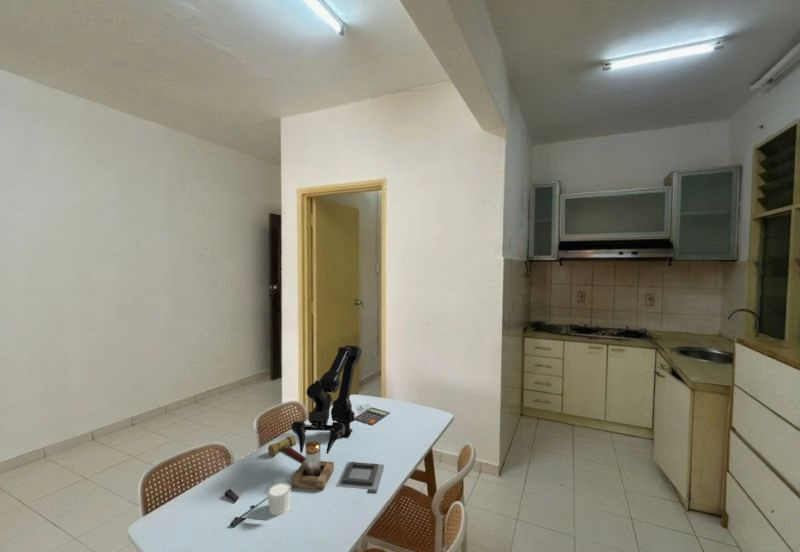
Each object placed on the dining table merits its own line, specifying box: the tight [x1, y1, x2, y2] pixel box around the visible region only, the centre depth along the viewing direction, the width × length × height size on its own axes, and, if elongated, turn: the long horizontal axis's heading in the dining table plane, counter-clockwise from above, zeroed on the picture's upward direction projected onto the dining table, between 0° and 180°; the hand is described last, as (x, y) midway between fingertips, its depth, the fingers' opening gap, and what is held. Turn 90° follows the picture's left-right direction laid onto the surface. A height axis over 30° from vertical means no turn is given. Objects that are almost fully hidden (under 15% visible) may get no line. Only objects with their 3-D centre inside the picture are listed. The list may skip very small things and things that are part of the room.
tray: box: [335, 461, 385, 493], centre depth 123 cm, size 14×14×2 cm
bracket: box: [224, 488, 268, 528], centre depth 110 cm, size 14×15×3 cm
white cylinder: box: [267, 482, 292, 516], centre depth 106 cm, size 7×7×7 cm
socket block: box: [291, 460, 335, 491], centre depth 121 cm, size 11×11×4 cm
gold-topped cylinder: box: [304, 440, 322, 477], centre depth 120 cm, size 5×5×12 cm
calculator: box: [354, 407, 391, 426], centre depth 170 cm, size 12×1×15 cm
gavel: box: [267, 434, 306, 464], centre depth 135 cm, size 21×5×10 cm
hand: (314, 453), depth 121 cm, fingers open, 9 cm apart
